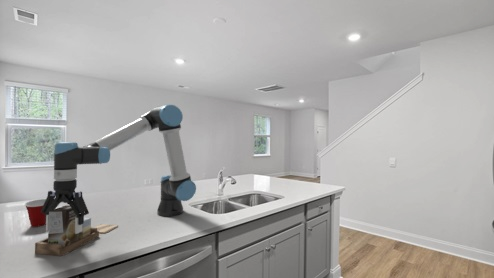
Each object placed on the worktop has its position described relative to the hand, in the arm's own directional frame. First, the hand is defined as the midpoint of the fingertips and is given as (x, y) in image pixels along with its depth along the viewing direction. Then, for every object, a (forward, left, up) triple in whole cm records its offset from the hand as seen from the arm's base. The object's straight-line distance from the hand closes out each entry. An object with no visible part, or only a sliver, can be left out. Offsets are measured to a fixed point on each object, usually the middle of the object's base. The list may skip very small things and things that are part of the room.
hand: (64, 231), depth 95 cm
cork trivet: (-1, -20, -7) cm, 21 cm away
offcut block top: (0, -8, -1) cm, 8 cm away
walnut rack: (0, -3, -7) cm, 7 cm away
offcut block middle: (0, -8, -4) cm, 9 cm away
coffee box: (0, 0, -7) cm, 7 cm away
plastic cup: (+35, -19, -7) cm, 40 cm away
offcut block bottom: (0, -8, -7) cm, 10 cm away
